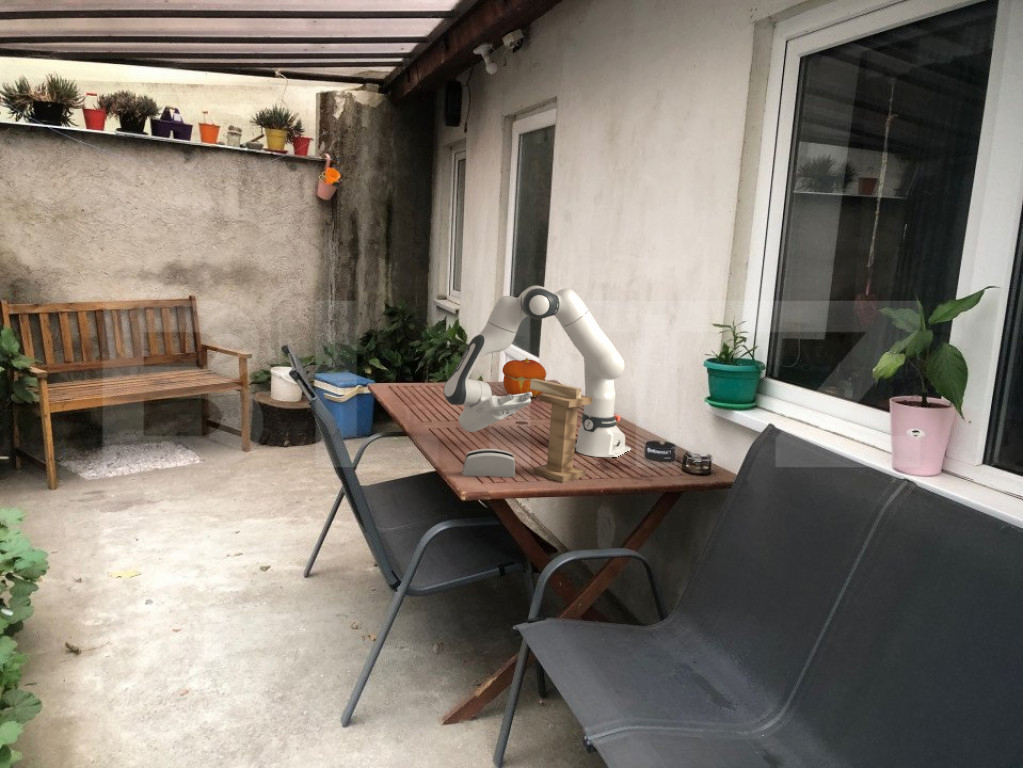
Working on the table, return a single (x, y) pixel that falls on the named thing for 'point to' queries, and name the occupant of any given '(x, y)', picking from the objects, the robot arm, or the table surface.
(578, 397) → the batten
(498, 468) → the grey arched block
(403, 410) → the table surface
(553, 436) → the stand
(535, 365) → the pumpkin
